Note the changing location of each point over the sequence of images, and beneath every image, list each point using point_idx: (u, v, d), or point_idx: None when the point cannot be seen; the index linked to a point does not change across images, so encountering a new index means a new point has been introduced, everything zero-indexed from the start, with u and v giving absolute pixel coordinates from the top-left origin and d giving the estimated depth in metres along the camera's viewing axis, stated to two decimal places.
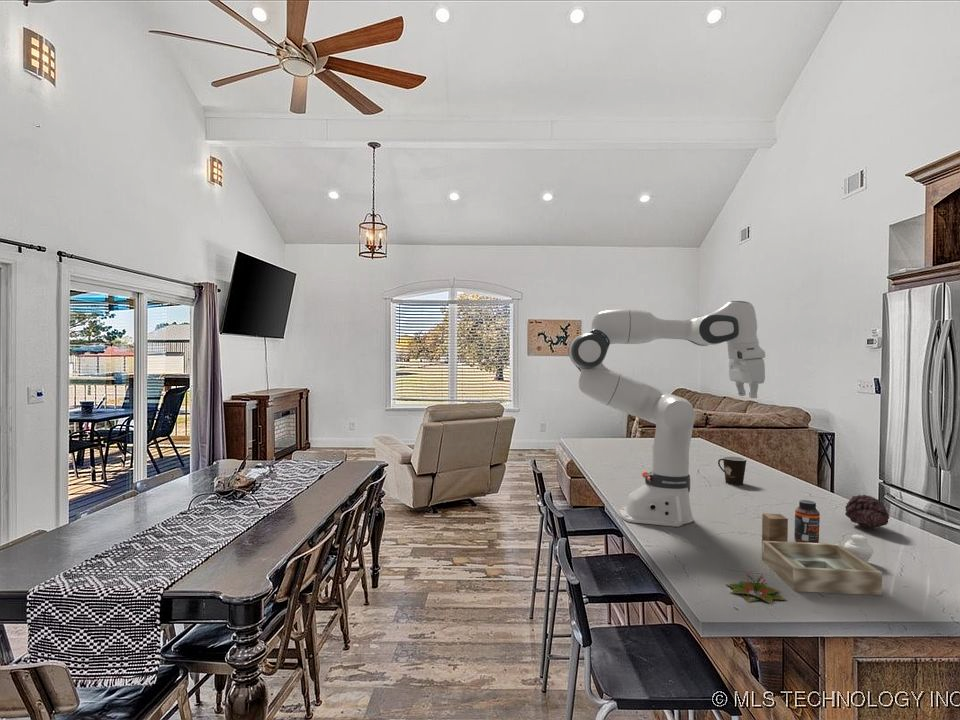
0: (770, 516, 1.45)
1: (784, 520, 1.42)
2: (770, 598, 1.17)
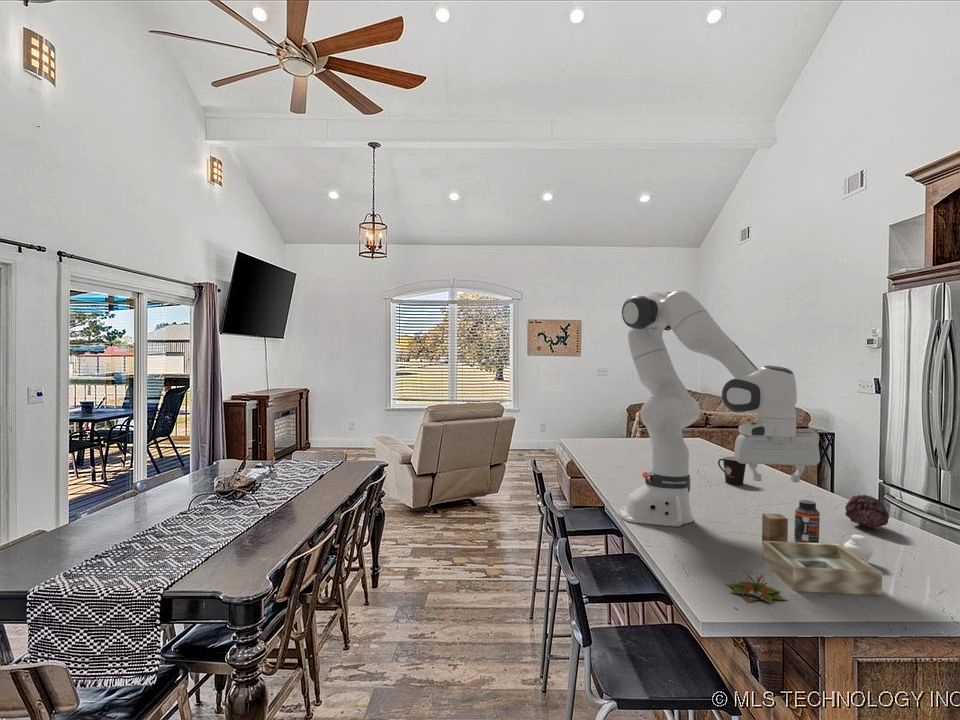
0: (770, 516, 1.45)
1: (784, 520, 1.42)
2: (770, 598, 1.17)
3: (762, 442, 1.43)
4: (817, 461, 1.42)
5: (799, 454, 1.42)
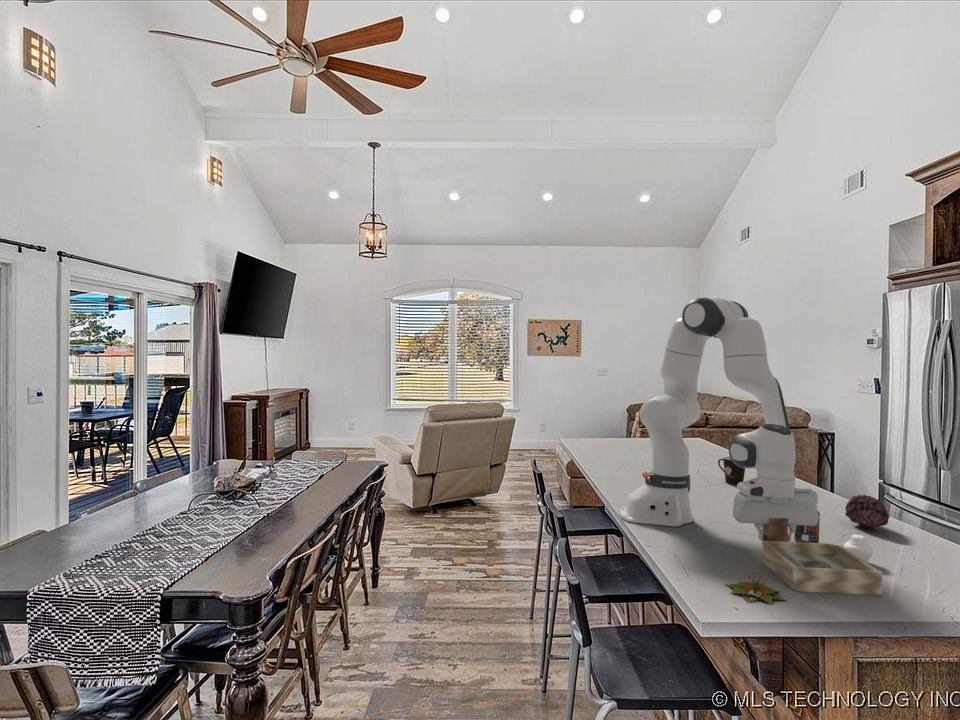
0: None
1: (784, 520, 1.42)
2: (770, 598, 1.17)
3: (760, 502, 1.43)
4: (815, 521, 1.42)
5: (797, 514, 1.42)
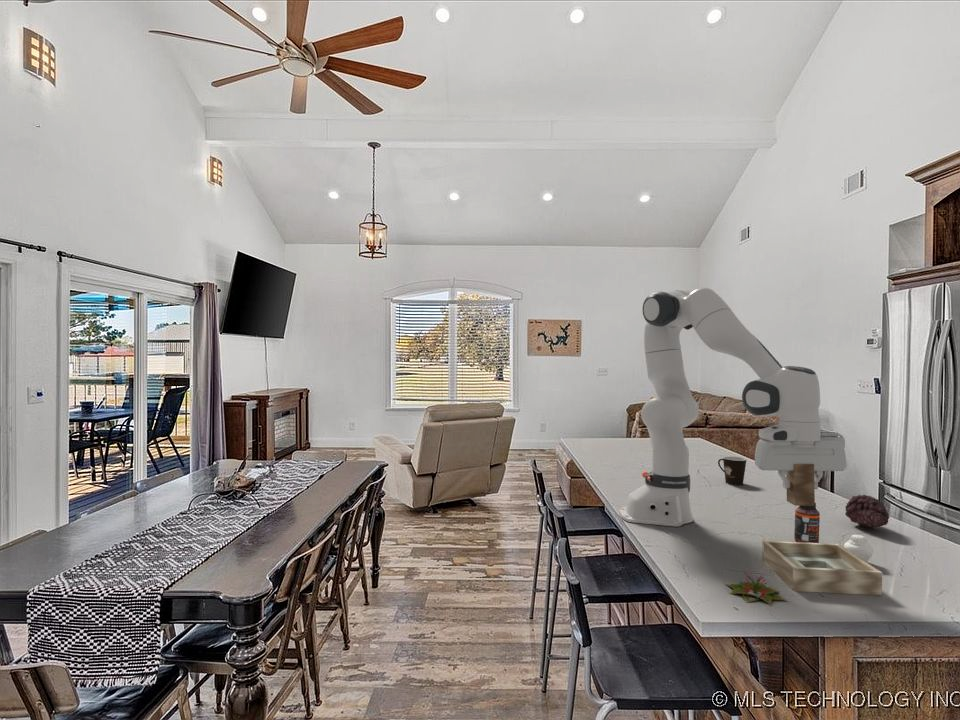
0: None
1: (810, 465, 1.34)
2: (770, 598, 1.17)
3: (784, 447, 1.35)
4: (843, 466, 1.33)
5: (824, 459, 1.34)
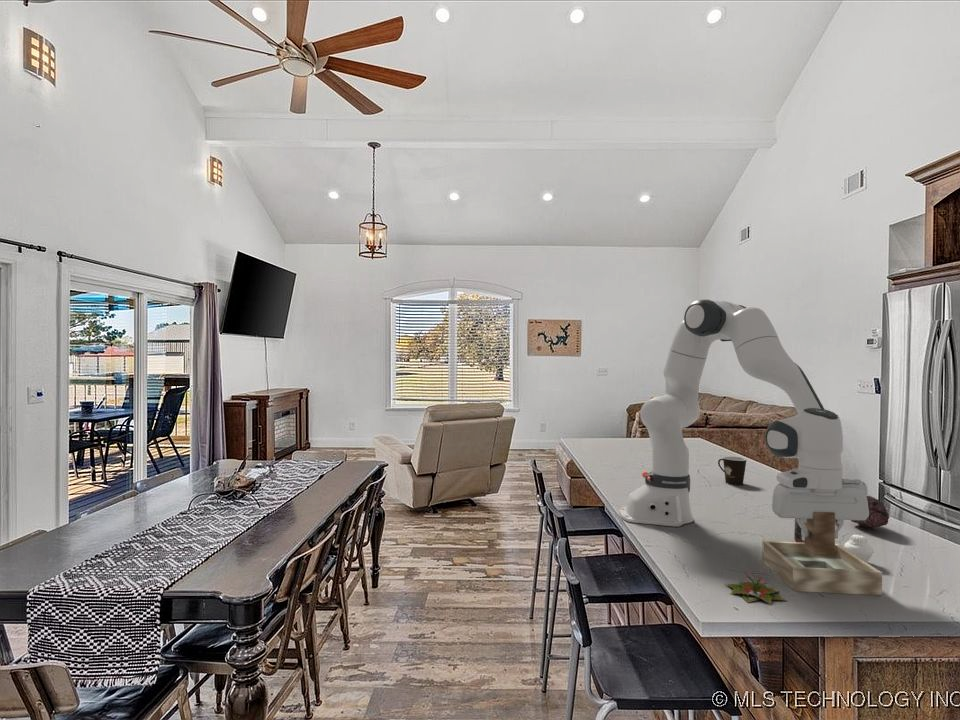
0: None
1: (831, 514, 1.28)
2: (769, 598, 1.17)
3: (804, 494, 1.29)
4: (866, 515, 1.27)
5: (846, 508, 1.28)
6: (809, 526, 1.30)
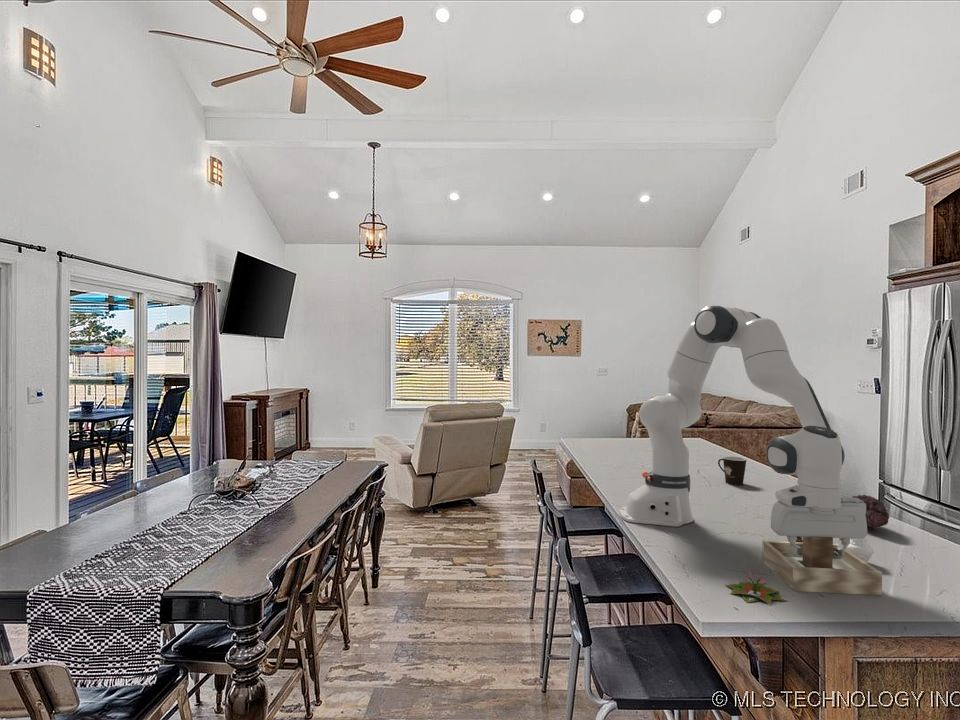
0: None
1: (829, 539, 1.28)
2: (769, 598, 1.17)
3: (803, 512, 1.29)
4: (864, 534, 1.27)
5: (844, 526, 1.28)
6: (807, 550, 1.31)
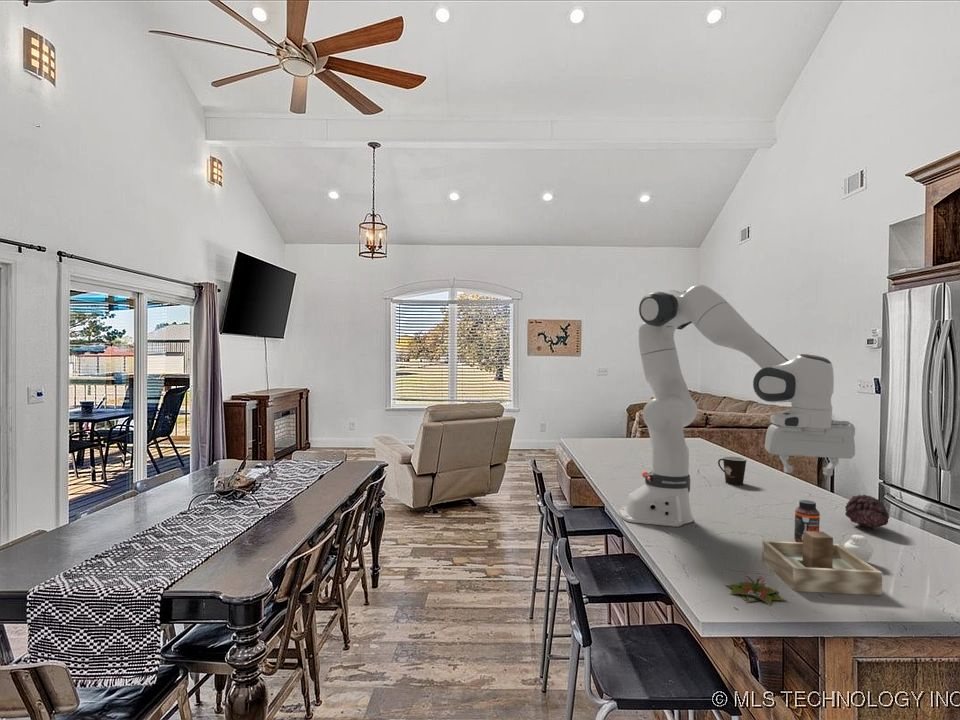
0: (812, 534, 1.30)
1: (829, 539, 1.28)
2: (769, 598, 1.17)
3: (795, 433, 1.38)
4: (852, 454, 1.37)
5: (833, 446, 1.37)
6: (807, 550, 1.31)
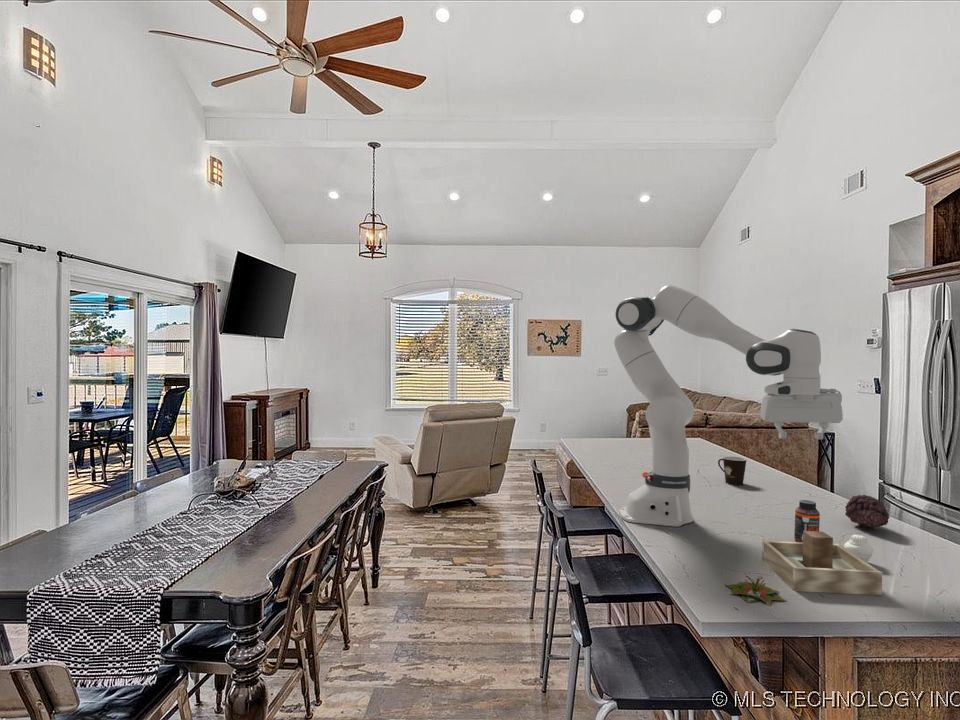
0: (812, 534, 1.30)
1: (829, 539, 1.28)
2: (769, 599, 1.17)
3: (787, 401, 1.51)
4: (840, 418, 1.49)
5: (823, 412, 1.50)
6: (807, 550, 1.31)
